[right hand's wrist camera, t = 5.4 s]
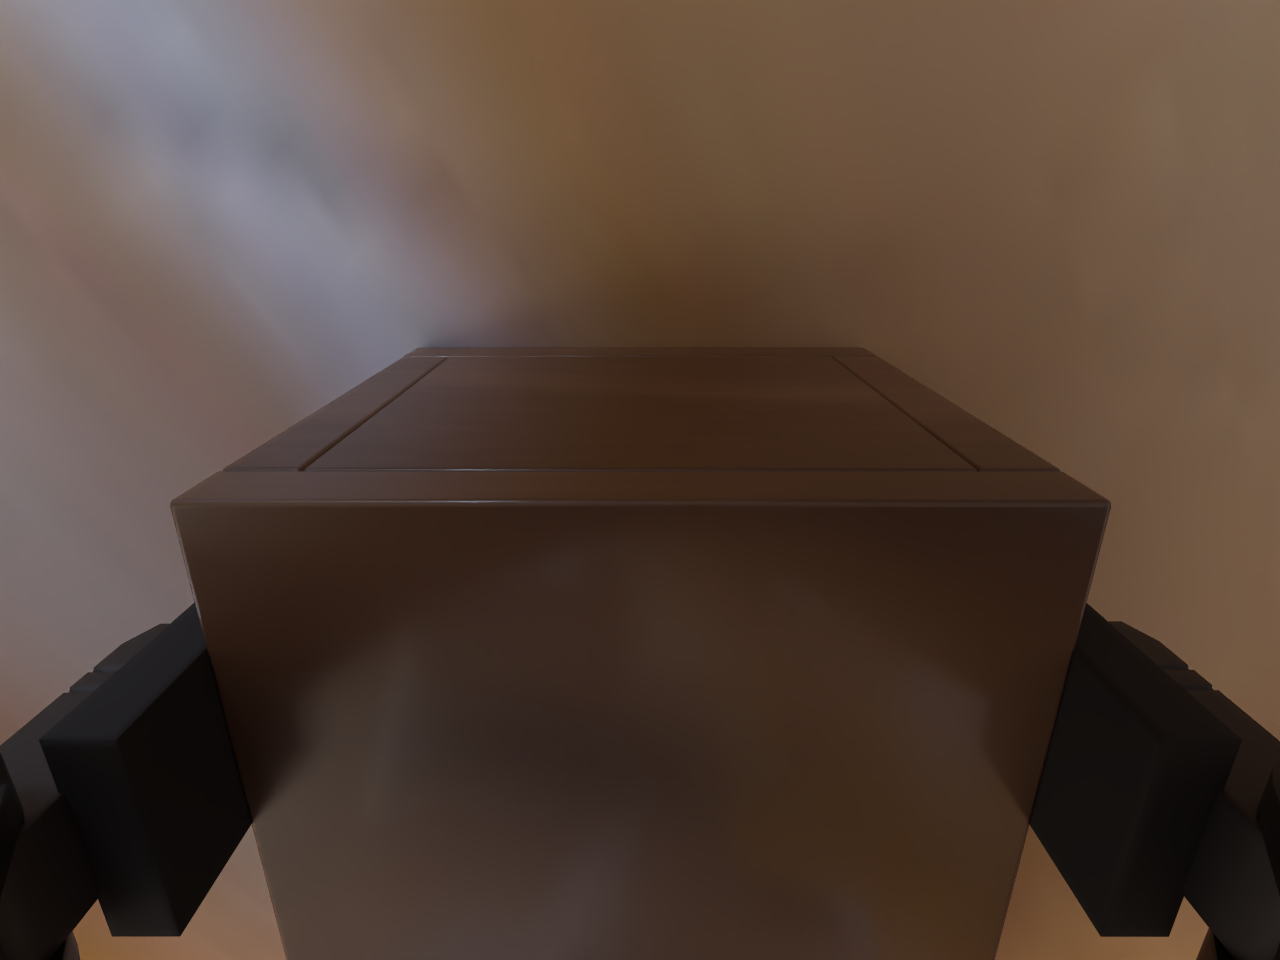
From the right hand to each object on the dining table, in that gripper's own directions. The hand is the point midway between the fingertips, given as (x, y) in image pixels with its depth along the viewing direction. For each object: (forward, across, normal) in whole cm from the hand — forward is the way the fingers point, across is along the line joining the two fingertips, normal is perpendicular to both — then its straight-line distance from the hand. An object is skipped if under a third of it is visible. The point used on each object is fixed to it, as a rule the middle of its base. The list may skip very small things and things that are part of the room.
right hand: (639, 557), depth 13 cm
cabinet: (+4, 0, -7) cm, 8 cm away
